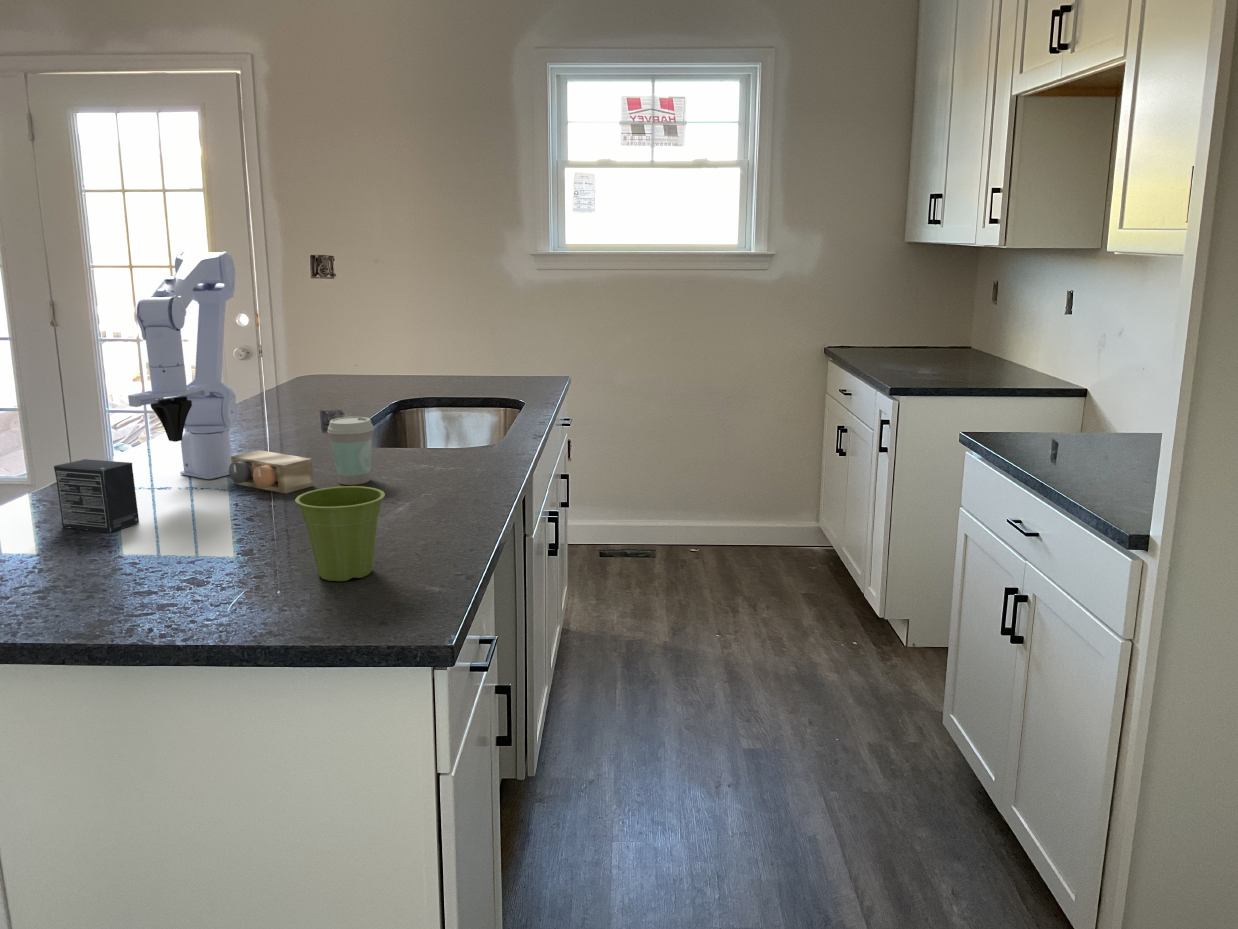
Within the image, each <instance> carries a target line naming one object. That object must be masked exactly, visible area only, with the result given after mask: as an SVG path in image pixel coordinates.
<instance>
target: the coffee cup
mask: <svg viewBox="0 0 1238 929" xmlns="http://www.w3.org/2000/svg"><path fill="white" fill-rule="evenodd" d="M374 429H375V428H374V425H373V423H372V420H371V418H369V417H365V416H345V417H344V416H343V417H338V418H333V419H330V421H329V424H328V426H327V433H328V434H329V438H330V444H331V448H332V455H333V459H334V463H335V464H334V465H335V469H336V475H337V480H338V484H341V485H345V486H358V485H363V484H365V483H368V482H370V481H371V467H372V466H371V465H372V464H371V462H372V444H373V443H372V442H373V431H374Z"/></svg>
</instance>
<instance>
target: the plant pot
mask: <svg viewBox="0 0 1238 929" xmlns="http://www.w3.org/2000/svg"><path fill="white" fill-rule="evenodd" d="M385 496H386V493H385V492H384V490H381V489H379V488H375V487H368V486H359V485H345V486H333V487H331V486H330V487H324V488H319V489H318V488H317V489H314V490H310V491H307V492H303V493H302V494H300V495H297V497H296V498H295V499H294V502H295V503H296V504H297V505H298V506H299V508H300V511H301V515H302V519H303V520H304V521H305V526H306V529H307V534H308V537H309V543H310V545H311V550H312V554H313V558H314V562H315V566H316V569H317V574H318V576H319V577H320V578H321V579H323V580H326V581H330V582H331V581H333V582H334V581H335V582H345V581H349V580H351V579H353V578H357V579H362V578H365V577H367V576H368V575H370V573H371V572H372V571H373V570H372V569H373V564H374V563H373V562H374V555H375V547H376V546H375V545H376V536H377V529H378V528H377V526H378V518H379V515H380V513H381V512H380V511H381V505H382V504H381V503H382V500H384V498H385Z"/></svg>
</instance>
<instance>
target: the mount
mask: <svg viewBox="0 0 1238 929" xmlns="http://www.w3.org/2000/svg"><path fill="white" fill-rule="evenodd" d="M238 461H245V462H246V463H248V462H251V463H252V473H253V472H254V469H255V468H256V467H260V466H264V465H269V466H270V467H273V466H274V467H276V469H277V480H278V481H276V482H275V483H274V485H272V486H269V487H265V488H260V487H258V486H257V485H256V483H255V481H254V478H253V477H250V479H249V480H248V481H246V482H242V483H235V482H233V481H232V482H233V484H234V485H235V484H236V485H240V486H245V487H250V488H255V489H260V490H261V489H262V490H266V491H270V492H276V493H281V494H289V493H293V492H296V491H299V490H304V489H308V488H312V487H314V473H313V472H314V471H313V462H312V461H313V460H312V458H311V457H310V458H309V457H304V456H299V455H298V456H297V455H292V454H285V453H279V452H273V451H272V452H271V451H266V450H260V449H258V450H254V451H250V452H246V453H245V452H244V453H240V454H236V455H232V456H231V463H234V462H238Z"/></svg>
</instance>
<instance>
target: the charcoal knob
mask: <svg viewBox="0 0 1238 929" xmlns="http://www.w3.org/2000/svg"><path fill="white" fill-rule="evenodd" d="M228 476H229V478H230V480H232V482H235V483H242V482H246V481H248V480H249V479H250V477H253V473H252V463H251V462H248V463H246V462H245V461H238V462H234V463H231V464H230V466H229V475H228Z"/></svg>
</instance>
